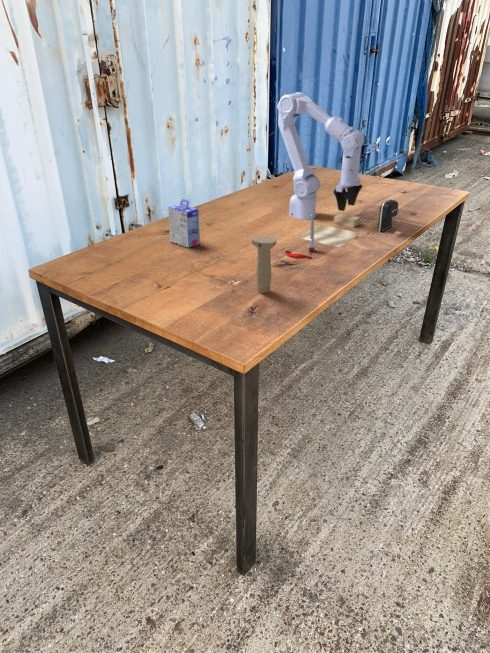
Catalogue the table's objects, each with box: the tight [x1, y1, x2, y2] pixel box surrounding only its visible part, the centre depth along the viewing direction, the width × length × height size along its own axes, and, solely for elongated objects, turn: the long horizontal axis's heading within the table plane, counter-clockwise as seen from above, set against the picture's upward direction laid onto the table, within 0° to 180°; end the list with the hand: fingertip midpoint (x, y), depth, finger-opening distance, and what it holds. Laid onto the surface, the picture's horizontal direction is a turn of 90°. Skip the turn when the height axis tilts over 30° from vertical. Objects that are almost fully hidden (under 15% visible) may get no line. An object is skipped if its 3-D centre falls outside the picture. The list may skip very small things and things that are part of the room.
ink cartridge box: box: [167, 198, 201, 249], centre depth 168 cm, size 10×6×14 cm, turn 47°
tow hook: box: [285, 215, 316, 259], centre depth 158 cm, size 8×13×9 cm
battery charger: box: [377, 199, 399, 234], centre depth 173 cm, size 7×4×11 cm, turn 137°
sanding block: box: [333, 213, 361, 229], centre depth 182 cm, size 8×4×4 cm, turn 53°
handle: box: [251, 235, 277, 294], centre depth 135 cm, size 5×6×15 cm
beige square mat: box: [296, 224, 361, 248], centre depth 172 cm, size 16×16×1 cm
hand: (346, 207), depth 179 cm, fingers open, 7 cm apart
